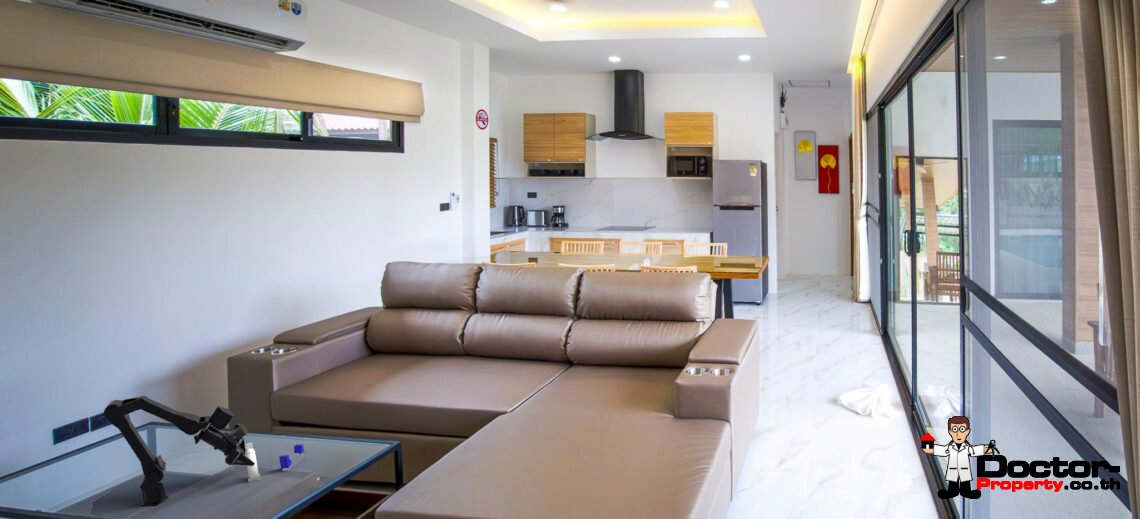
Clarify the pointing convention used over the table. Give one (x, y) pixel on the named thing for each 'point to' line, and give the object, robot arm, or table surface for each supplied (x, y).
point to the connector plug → (251, 455)
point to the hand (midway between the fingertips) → (254, 460)
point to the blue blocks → (284, 459)
